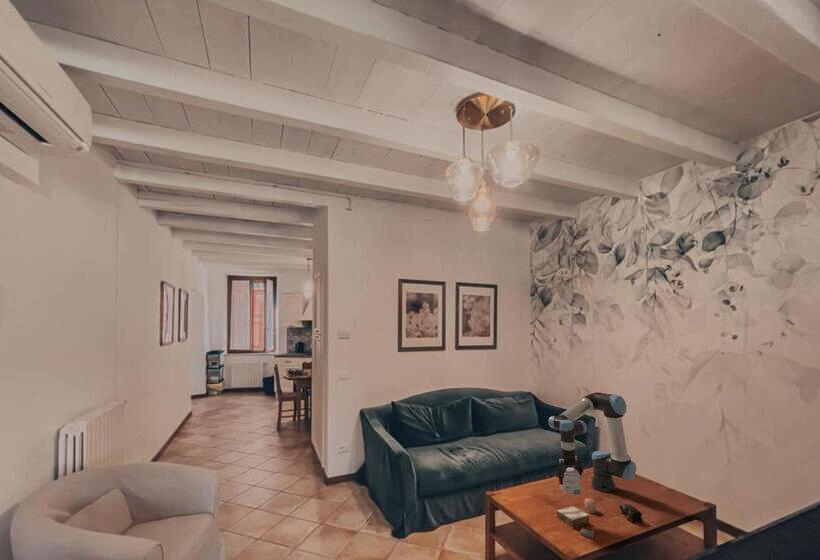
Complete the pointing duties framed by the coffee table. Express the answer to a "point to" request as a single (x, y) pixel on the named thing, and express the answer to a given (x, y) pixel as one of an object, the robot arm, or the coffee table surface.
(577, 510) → the plinth
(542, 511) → the coffee table surface
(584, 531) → the gray rectangular block
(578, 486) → the ink box
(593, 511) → the tan rounded cylinder
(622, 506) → the sculpture
